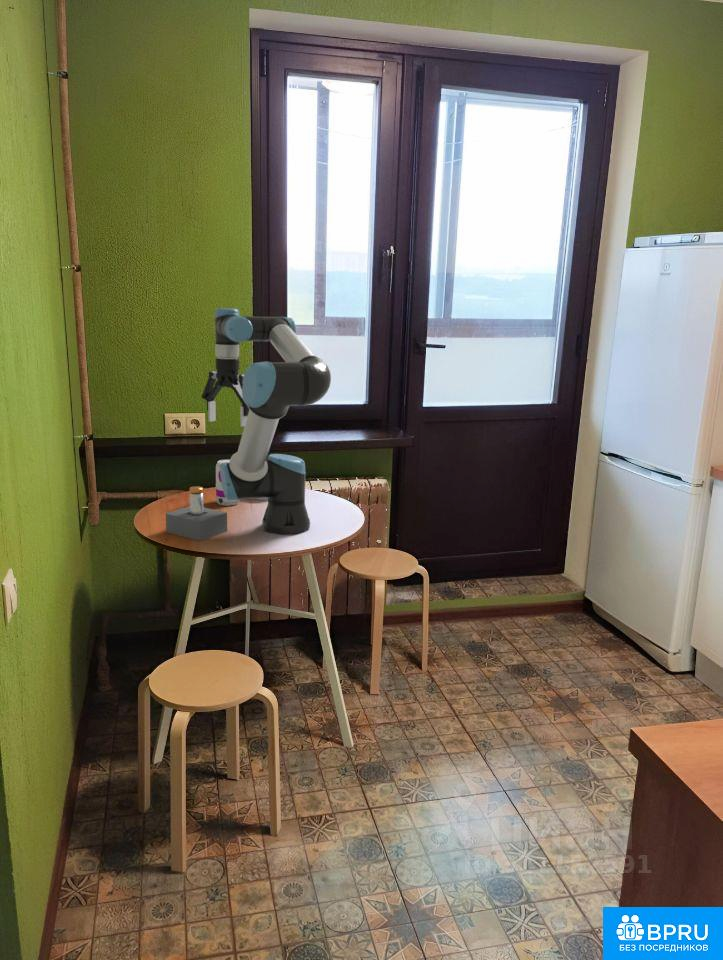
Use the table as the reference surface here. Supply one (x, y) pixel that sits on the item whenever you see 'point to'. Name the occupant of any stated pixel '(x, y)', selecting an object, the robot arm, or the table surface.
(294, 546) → the table surface
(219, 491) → the supplement can
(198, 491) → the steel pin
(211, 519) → the block
